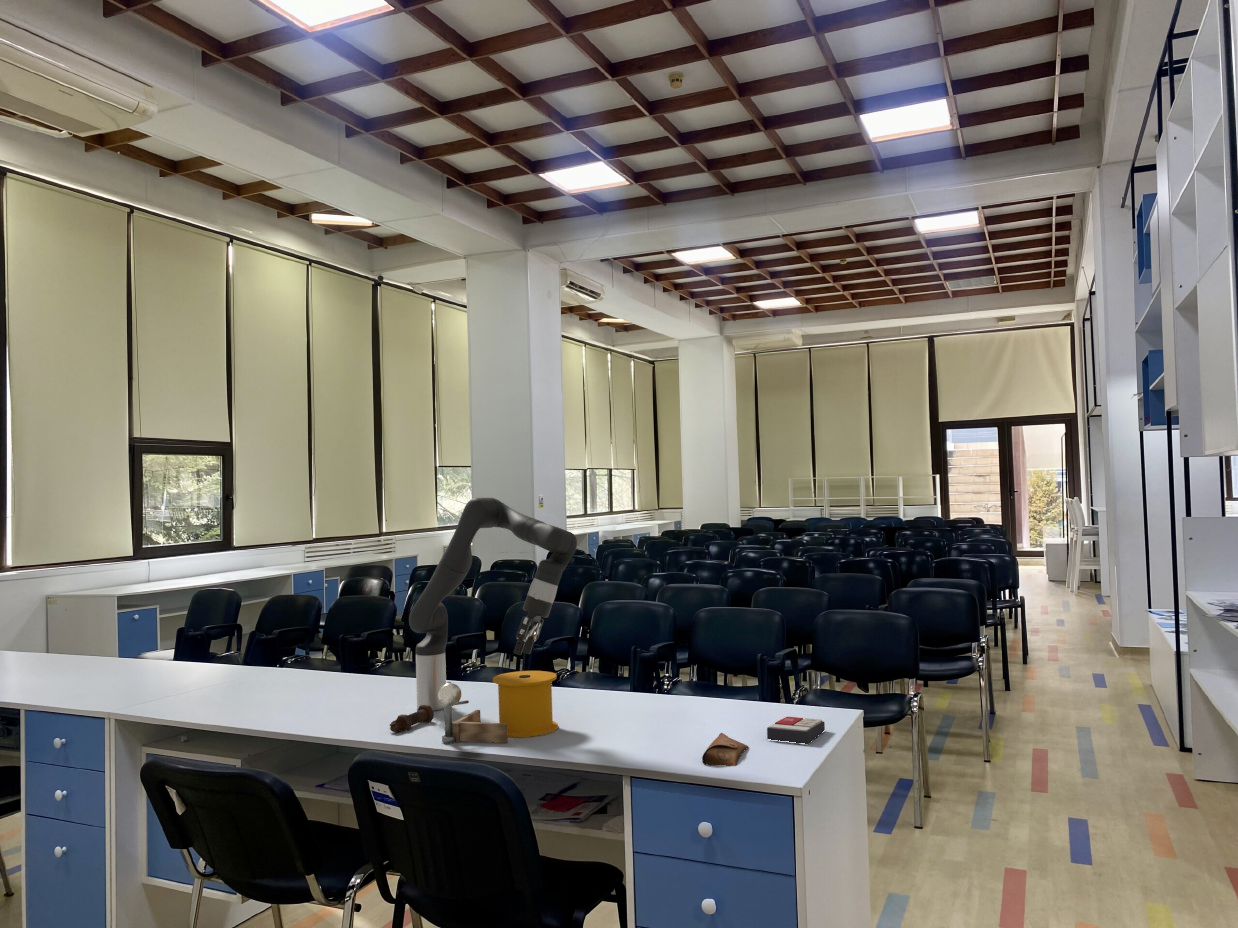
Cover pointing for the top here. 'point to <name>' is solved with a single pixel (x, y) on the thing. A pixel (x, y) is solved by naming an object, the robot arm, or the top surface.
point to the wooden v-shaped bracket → (478, 730)
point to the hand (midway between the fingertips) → (521, 653)
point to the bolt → (412, 719)
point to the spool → (526, 702)
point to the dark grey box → (795, 729)
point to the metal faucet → (449, 707)
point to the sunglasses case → (723, 751)
